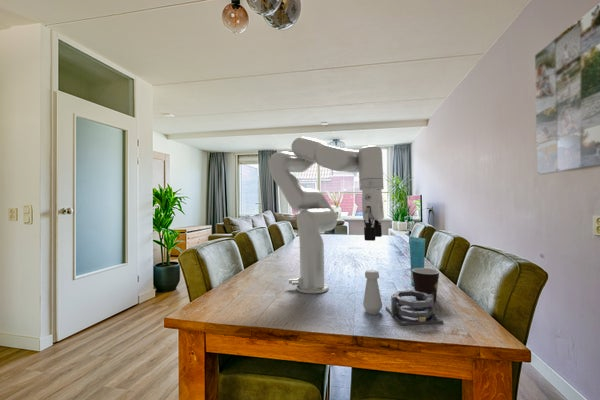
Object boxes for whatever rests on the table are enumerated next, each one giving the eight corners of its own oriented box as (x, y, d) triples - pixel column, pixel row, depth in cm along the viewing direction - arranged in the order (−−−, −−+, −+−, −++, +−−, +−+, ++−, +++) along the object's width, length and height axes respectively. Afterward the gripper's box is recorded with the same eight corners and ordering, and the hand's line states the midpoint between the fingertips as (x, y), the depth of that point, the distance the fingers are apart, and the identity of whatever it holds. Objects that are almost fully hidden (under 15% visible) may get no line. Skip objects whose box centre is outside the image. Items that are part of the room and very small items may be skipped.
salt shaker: (383, 310, 91) (383, 269, 91) (380, 317, 86) (380, 273, 86) (365, 307, 93) (364, 267, 93) (361, 314, 88) (360, 271, 88)
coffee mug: (428, 306, 94) (427, 275, 94) (407, 298, 101) (406, 269, 101) (450, 299, 99) (450, 270, 99) (429, 292, 107) (429, 265, 107)
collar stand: (400, 325, 80) (400, 304, 80) (385, 308, 92) (384, 290, 92) (444, 323, 81) (444, 302, 81) (423, 307, 93) (422, 288, 93)
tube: (429, 285, 115) (428, 237, 115) (423, 288, 112) (422, 239, 112) (412, 281, 121) (411, 236, 121) (405, 283, 118) (405, 237, 118)
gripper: (377, 183, 83) (380, 242, 83) (388, 185, 98) (390, 235, 98) (352, 184, 86) (354, 241, 86) (366, 187, 102) (368, 235, 101)
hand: (373, 238), depth 92 cm, fingers open, 9 cm apart
